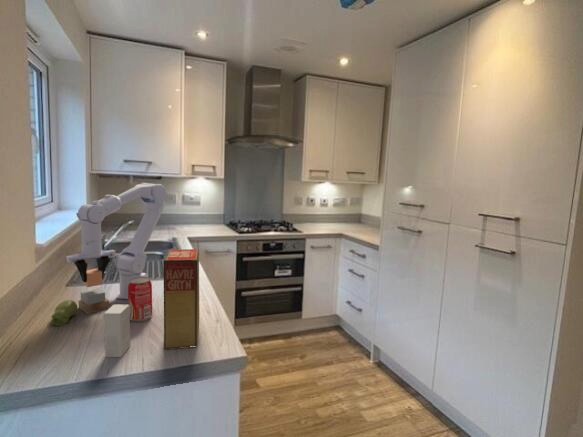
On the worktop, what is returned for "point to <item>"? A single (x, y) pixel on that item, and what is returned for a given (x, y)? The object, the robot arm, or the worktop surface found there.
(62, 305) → the pear
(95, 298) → the slate block
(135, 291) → the soda can
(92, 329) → the worktop surface
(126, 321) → the skincare box
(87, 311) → the walnut base
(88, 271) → the terracotta cube
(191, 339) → the food packaging
